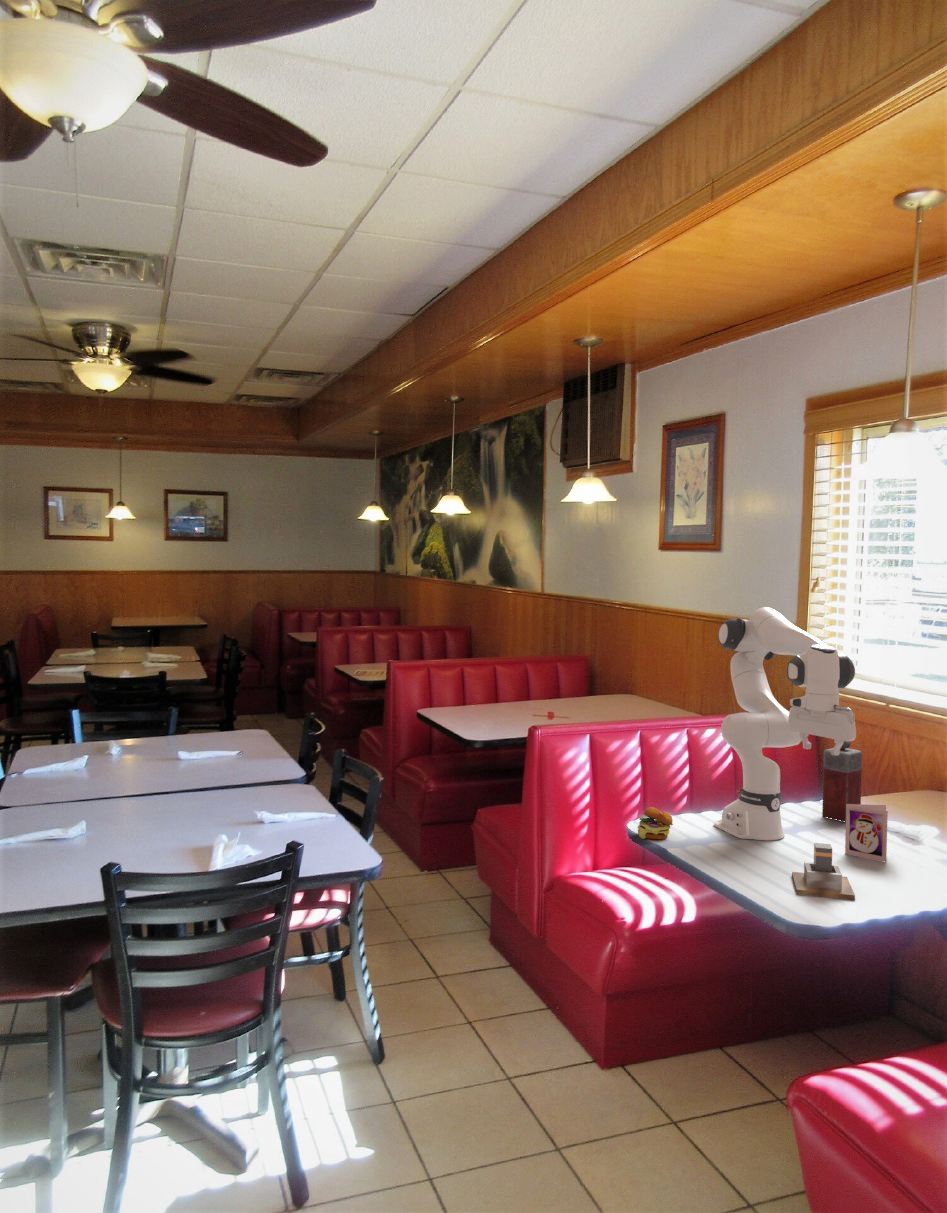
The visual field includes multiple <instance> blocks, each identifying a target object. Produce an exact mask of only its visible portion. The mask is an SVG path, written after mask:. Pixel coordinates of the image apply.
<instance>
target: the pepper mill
mask: <svg viewBox="0 0 947 1213" xmlns="http://www.w3.org/2000/svg"><path fill="white" fill-rule="evenodd" d="M851 743H852V741H844V743H843V745H842V747H841V748H840V754H839V755H837V756H836V755H832V754H831V748H832V747H831V748H828V749H824V751H823V770H822V771H823V772H822V774H823V775H822V776H823V777H822V778H823V779H822V816H821V817H822V818H824V817H828V818H832V819H837V820H841V821H845V822H846V804H862V801H861V800H862V777H863V776H862V770H863V768H862V767H863V766H862V765H863V752H862V750H858V749H853V748H850V746H851ZM828 818H827V819H828ZM832 819H831V820H832Z"/></svg>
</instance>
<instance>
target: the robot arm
mask: <svg viewBox="0 0 947 1213" xmlns="http://www.w3.org/2000/svg"><path fill="white" fill-rule="evenodd" d="M718 642H719V645H720V646H721V647H722V648H723V649H725V650H728V651H737V653H735V654H734V655H733V656H732V657H731V659H730V666H729V667H730V676H731V677H730V678H731V684H732V688H733V691H734V696H735V699H736V702H737V705H739V706H740V708H741V709H743V710H744V712H738V713H737V712H736V713H731V714H727V715H726V716H725V717H724V719H723V720H722V723H721V727H720V728H721V729H720V732H721V735H722V738H723V740H724V741H725V742H726V743H727V745H729V746H730V747H731V748H732V749H733V750H734V751H735V752H736V754H737V755H738V757H739V759H740V761H741V766H742V780H743V781H742V782H743V783H742V784H743V785H742V788H738V789H737V791H736V794H739V795H738V798H737V799H736V800H734V801H733V802H731V803H729V804H728V805H725V807H723V810H722V812H721V813H722V814H721V819H719V820H716V821H715V822H714V824H713V826H714V827H715V828H718V829H720V830H722V831H724V832H725V833H728V834H730V835H732V836H734V837H736V838H738V839H744V840H746V839H747V840H758V841H777V840H781V839H783V838H784V837H785V833H784V829H783V824H782V815H781V804H782V791H781V789H780V788H781V784H780V783H781V770H780V766H779V764H777V762H776V761H774V760H772V759H771V758H769V757H766V756H764V754H763V748H787V747H793V746H798V745H799V744H801V742H802V749H804V750H811V749H812V742H810V741H809V738H808V737H809V735H812V736H817V737H823V738H827V739H832V740H834V741H833V743H834V744H835V745H834V747H831V754H832V755H836V756H837V755H839V754H840V748H841V747H842V745H843V743H844V741H850V742H852V741H855V739H856V738H857V729H856V720H855V716H856V715H855V712H854V711H853V710H852V709H851V708H850V707H849V706H842V705H840V690H839V689H845V688H847V687H848V686H849V684H851V683H852V681H853V680H854V678H855V676H856V669H855V668H856V667H855V664H854V663H853V661H852V659H851V658H850V657H849V656H848V655H846V653H841V652H838V649H836V648H835V647H834V646H832V645H827V644H826V643H825V642H823V641H822V640H820V639H819V638H818V637H816V636H815V635H813V634H811V633H809V632H807V631H805V630H803V629H801V628H800V627H798V626H796V625H795V624H793V623H792V622H790V620H788V619H787V618H786V617H785V616H784V615H783V614H781V613H780V612H779V611H777V610H775V609H774V608H771V607H767V606H763V607H760V608H757V609H756V610H754V612H752V614H751V615H750V618H749V619H742V618H741V617H739V618H730V619H726V620H725V621H724V622H722V623H721V624H720V626H719V629H718ZM777 655H783V656H793V657H791V659H790V660H789V661H788V663H787V669H786V673H787V674H786V675H787V679H788V681H790V682H791V683H792V684H793V686H795V687H800V688H805V694H804V695H802V696H799V697H794V698H790V699H789V706H791V707H790V709H789V710H787V709H786V708H785V707H784V706H783V705H781V704H780V703H779V702H778V701H777V699H776V698H775V697H774V695H773V693H772V690H771V688H770V685H769V682H768V678H767V675H766V671H765V669H764V665H763V664H764V660H765V661H769V660H770V661H771V660H772V659H773V658H774V657H775V656H777ZM745 711H747V712H745Z"/></svg>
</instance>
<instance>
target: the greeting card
mask: <svg viewBox="0 0 947 1213" xmlns="http://www.w3.org/2000/svg"><path fill="white" fill-rule="evenodd" d="M888 817H889V816H888V810H887V805H886V804H862V803H861V804H846V823H845V841H844V842H845V846H844V847H845V848H844V855H849V856H853V857H858V856H859V857H858V858H863V859H867V858H868V860H872V859H873V860H874V861H877V860H878V861H879V862H882V861H885V862H884V863H887V854H888V852H887V851H888V850H887V849H888V848H887V847H888V842H887V841H888ZM873 860H872V861H873Z"/></svg>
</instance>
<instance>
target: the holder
mask: <svg viewBox="0 0 947 1213" xmlns="http://www.w3.org/2000/svg"><path fill="white" fill-rule="evenodd" d="M791 877H792V881H793V886H794V889H795V893H796V895H801V896H811V897H820V898H821V897H823V898H832V899H841V900H851V901H856V894H855V893H854V890H853V888H852V885H851V884H850V881H849V879H848V876H843V875H842V871H841V869H840V867H839V865H838V864H836V863H832V873H829V872H818V871H814V861H804V863H803V872H800V871H799V872H798V871H791Z"/></svg>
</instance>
